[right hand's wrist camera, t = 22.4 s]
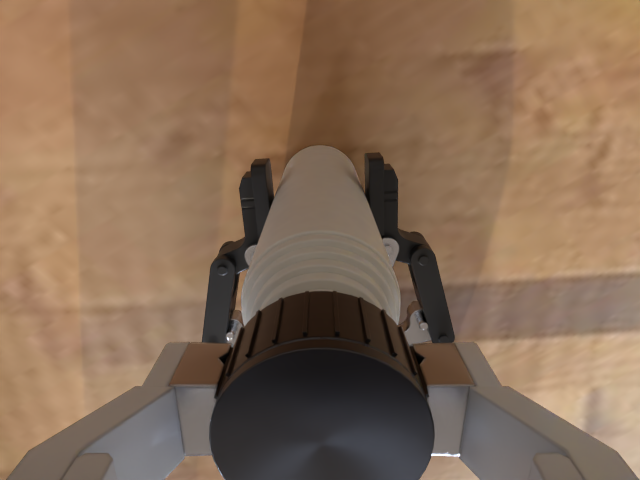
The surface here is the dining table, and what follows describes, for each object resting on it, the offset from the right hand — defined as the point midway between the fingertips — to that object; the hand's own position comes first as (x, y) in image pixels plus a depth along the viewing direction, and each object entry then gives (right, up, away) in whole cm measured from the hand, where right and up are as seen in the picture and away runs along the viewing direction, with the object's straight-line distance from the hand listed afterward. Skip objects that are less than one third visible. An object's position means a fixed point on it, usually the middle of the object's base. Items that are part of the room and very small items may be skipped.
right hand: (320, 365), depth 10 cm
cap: (0, -1, -2) cm, 2 cm away
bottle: (0, +7, +17) cm, 19 cm away
